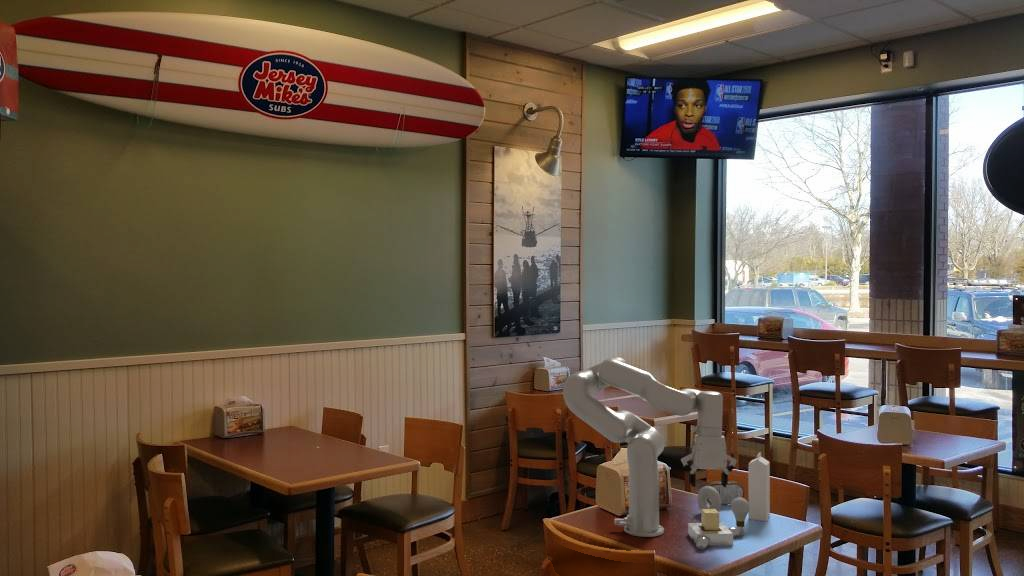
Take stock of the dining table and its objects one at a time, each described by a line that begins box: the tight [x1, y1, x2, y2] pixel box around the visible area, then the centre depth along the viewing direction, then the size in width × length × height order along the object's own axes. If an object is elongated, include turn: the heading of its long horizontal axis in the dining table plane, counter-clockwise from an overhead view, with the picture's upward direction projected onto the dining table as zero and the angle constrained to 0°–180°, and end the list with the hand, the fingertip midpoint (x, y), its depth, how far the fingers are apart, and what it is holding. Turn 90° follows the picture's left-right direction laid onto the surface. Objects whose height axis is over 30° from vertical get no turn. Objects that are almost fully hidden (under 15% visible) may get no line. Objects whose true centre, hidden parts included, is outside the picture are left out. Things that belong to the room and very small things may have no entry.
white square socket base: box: [687, 522, 734, 546], centre depth 248 cm, size 11×11×4 cm
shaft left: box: [695, 536, 711, 551], centre depth 241 cm, size 6×3×3 cm, turn 152°
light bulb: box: [730, 497, 750, 529], centre depth 259 cm, size 6×6×10 cm
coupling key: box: [700, 509, 720, 532], centre depth 248 cm, size 4×4×9 cm
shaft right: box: [727, 526, 745, 538], centre depth 250 cm, size 6×3×3 cm, turn 107°
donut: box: [696, 485, 722, 513], centre depth 274 cm, size 10×4×10 cm, turn 31°
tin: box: [705, 480, 745, 506], centre depth 287 cm, size 15×3×8 cm, turn 98°
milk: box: [747, 452, 771, 522], centre depth 270 cm, size 6×6×22 cm
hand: (708, 486), depth 248 cm, fingers open, 9 cm apart
